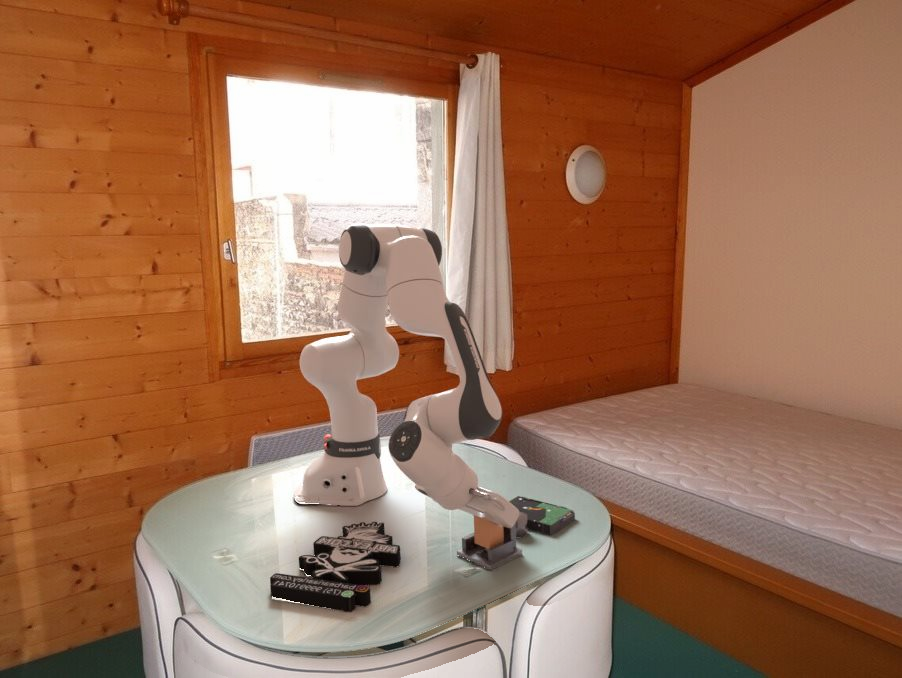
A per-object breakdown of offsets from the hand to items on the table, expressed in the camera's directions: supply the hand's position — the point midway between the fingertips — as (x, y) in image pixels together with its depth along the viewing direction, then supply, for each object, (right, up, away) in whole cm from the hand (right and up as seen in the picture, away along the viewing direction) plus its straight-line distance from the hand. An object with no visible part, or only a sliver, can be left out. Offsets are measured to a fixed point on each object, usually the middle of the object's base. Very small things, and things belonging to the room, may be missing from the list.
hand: (490, 518), depth 138 cm
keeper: (0, -7, +1) cm, 7 cm away
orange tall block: (0, -5, 0) cm, 5 cm away
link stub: (+6, -6, +10) cm, 13 cm away
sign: (-27, -9, -2) cm, 29 cm away
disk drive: (+10, -5, +17) cm, 21 cm away
